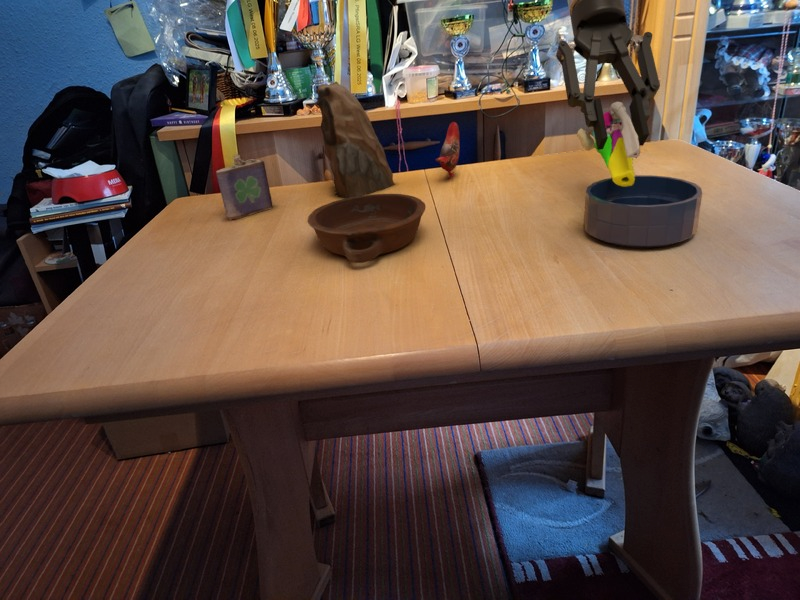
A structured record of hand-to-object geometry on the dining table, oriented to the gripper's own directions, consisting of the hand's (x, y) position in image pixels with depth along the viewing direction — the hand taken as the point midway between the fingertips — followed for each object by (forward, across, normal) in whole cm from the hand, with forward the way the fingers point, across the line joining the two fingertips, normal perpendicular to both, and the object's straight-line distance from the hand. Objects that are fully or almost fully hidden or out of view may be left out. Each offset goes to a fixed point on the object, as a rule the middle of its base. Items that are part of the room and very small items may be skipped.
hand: (622, 141), depth 77 cm
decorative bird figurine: (-13, +23, -30) cm, 40 cm away
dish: (+8, +36, -8) cm, 38 cm away
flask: (-6, +61, -22) cm, 65 cm away
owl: (-13, +40, -29) cm, 52 cm away
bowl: (+12, -1, -4) cm, 13 cm away
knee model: (0, 0, -5) cm, 5 cm away
